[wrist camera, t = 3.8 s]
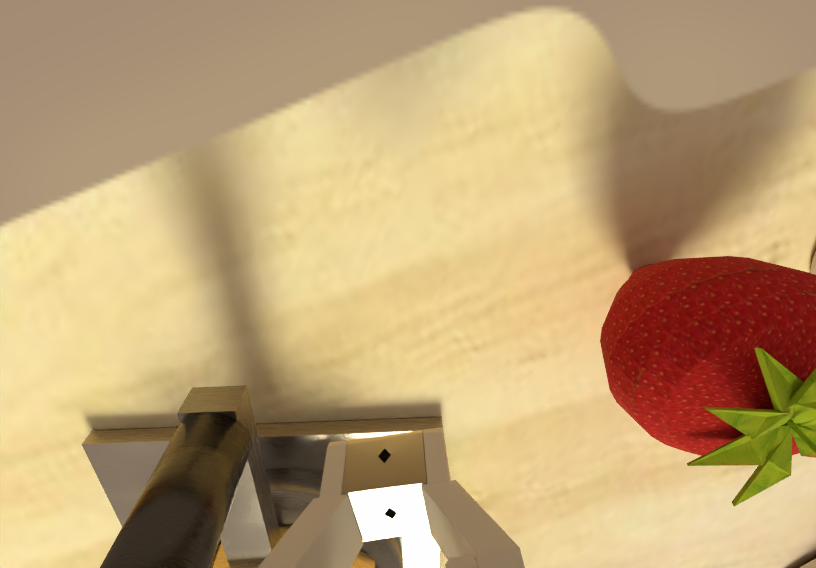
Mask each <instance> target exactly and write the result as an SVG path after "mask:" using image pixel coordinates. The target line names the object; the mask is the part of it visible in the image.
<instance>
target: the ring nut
mask: <svg viewBox="0 0 816 568" xmlns="http://www.w3.org/2000/svg"><path fill="white" fill-rule="evenodd" d="M178 416H179V419H180V422H181V423H180V425H179V426H178V428H177V430H176V432H175V434H174V435H173V437H172V439H171V441H170V443H169V444H168V446H167V448H166V450H165V452H164V453H163V455H162V457H161V459H160V461H159V462H158V464H157V466H156V468H155V470H154V471H153V473H152V475H151V477H150V479H149V480H148V482H147V484H146V486H145V488H144V489H143V491H142V493H141V495H140V497H139V498H138V500H137V502H136V504H135V506H134V507H133V509H132V511H131V513H130V515H129V516H128V518H127V520H126V522H125V524H124V525H123V527H122V529H121V531H120V533H119V534H118V536H117V538H116V540H115V542H114V543H113V545H112V547H111V549H110V551H109V552H108V554H107V556H106V558H105V560H104V561H103V563H102V565H101V567H100V568H258V567H259V565H260V564H261V563H262V562H263V560H264V559H265V558H266V557H267V556H268V554H269V553H270V552H271V551H272V549H273V548H274V547H275V546H276V544H277V543H278V542H279V541H280V539H281V538H282V537H283V536H284V534H285V533H286V532H287V531H288V530H289V528H290V527H291V526H286V527H279V524H278V519H277V515H276V511H275V507H274V503H273V498H272V494H271V490H270V486H269V481H268V477H267V473H266V469H265V464H264V460H263V456H262V452H261V448H260V443H259V439H258V435H257V431H256V426H255V422H254V418H253V414H252V409H251V405H250V401H249V397H248V393H247V388H246V386H226V387H199V388H192V389H191V391H190V393H189V394H188V396H187V398H186V400H185V401H184V403H183V405H182V406H181V408H180V410H179V412H178ZM219 540H221V545H218V543H219ZM351 568H375V558H373V557H371V556H369V555H367V554H365V553H363V552H361V551H359V553H358V555H357V557H356V559H355V560H354V562H353V564H352V566H351Z"/></svg>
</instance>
